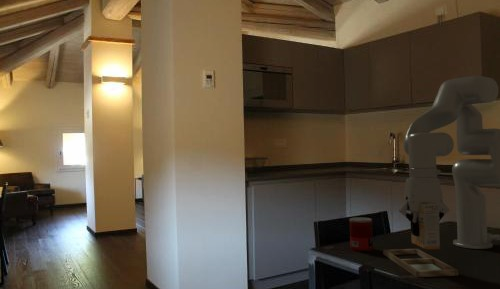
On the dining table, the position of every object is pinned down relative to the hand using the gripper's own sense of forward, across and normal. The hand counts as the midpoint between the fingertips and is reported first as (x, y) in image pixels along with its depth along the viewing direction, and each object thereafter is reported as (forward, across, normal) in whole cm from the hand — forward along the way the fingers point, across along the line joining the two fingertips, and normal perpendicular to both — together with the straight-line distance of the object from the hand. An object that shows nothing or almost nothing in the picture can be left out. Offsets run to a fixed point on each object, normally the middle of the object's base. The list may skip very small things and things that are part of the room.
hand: (424, 234), depth 117 cm
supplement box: (+4, 0, 0) cm, 4 cm away
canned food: (+11, +11, -27) cm, 31 cm away
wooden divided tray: (+10, 0, -6) cm, 12 cm away
